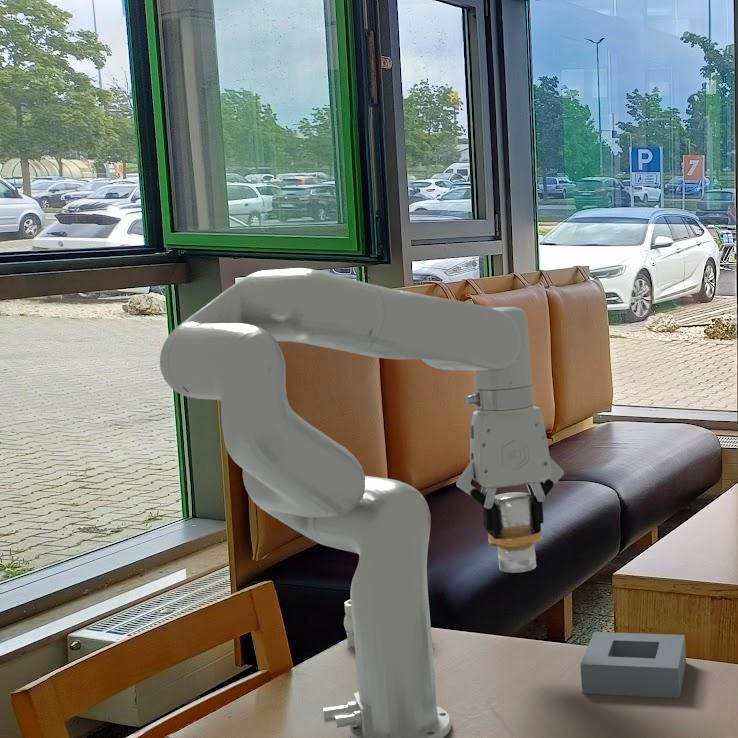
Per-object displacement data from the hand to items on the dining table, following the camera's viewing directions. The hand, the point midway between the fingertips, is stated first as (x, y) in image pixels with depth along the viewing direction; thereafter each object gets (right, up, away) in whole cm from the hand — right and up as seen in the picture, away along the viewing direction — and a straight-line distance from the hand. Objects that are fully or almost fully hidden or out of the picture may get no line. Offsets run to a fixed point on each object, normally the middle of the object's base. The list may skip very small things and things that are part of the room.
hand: (514, 530), depth 155 cm
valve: (-17, -20, +18) cm, 32 cm away
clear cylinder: (+1, -5, +1) cm, 5 cm away
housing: (+15, -19, -6) cm, 25 cm away
